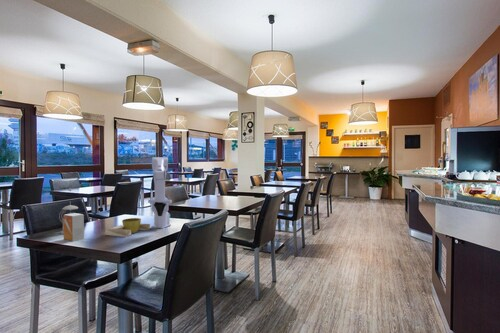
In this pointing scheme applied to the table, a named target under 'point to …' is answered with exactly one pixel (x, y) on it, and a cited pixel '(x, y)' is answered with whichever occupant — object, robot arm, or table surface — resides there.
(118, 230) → the beige crumpled cloth
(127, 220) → the flower pot
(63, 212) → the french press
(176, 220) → the table surface
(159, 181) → the robot arm
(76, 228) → the small box
